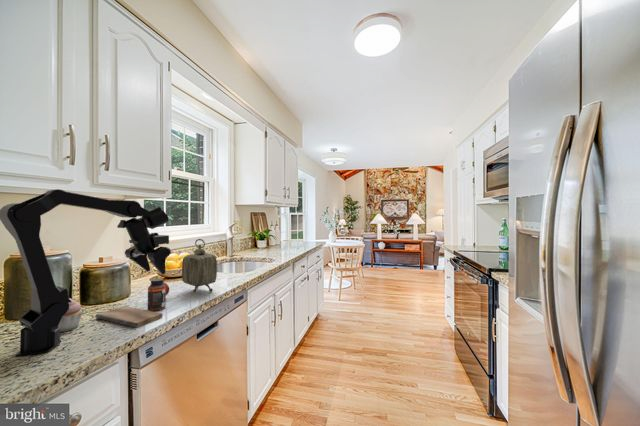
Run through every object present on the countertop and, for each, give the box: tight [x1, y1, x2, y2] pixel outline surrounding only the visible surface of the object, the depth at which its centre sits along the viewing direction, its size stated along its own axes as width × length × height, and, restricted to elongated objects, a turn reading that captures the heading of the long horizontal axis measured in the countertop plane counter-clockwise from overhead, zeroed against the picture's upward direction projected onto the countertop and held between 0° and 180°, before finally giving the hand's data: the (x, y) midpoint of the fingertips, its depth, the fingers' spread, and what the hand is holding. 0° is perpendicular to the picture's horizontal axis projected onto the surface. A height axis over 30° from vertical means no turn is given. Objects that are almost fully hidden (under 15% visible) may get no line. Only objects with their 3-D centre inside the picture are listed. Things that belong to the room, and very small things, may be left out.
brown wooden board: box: [94, 305, 163, 328], centre depth 92 cm, size 10×20×2 cm, turn 69°
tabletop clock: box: [181, 238, 218, 294], centre depth 125 cm, size 14×9×25 cm, turn 60°
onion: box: [163, 280, 170, 296], centre depth 113 cm, size 6×6×8 cm
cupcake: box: [58, 297, 86, 333], centre depth 83 cm, size 9×9×10 cm
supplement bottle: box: [147, 278, 167, 312], centre depth 102 cm, size 6×6×11 cm
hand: (156, 272), depth 98 cm, fingers open, 9 cm apart
